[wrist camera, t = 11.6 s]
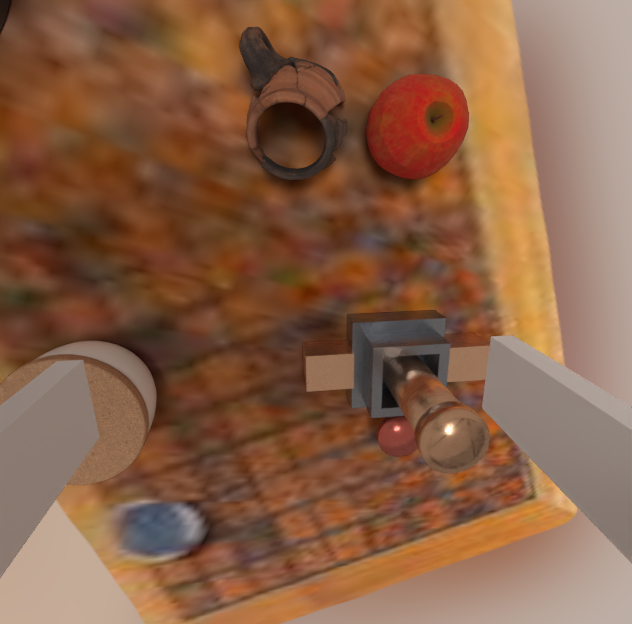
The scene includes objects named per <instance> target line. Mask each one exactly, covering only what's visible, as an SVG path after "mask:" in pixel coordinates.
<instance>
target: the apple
mask: <svg viewBox="0 0 632 624" xmlns="http://www.w3.org/2000/svg"><path fill="white" fill-rule="evenodd" d="M468 124H469V112H468V107H467V101H466V98H465V96H464V93H463V91H462V90H461V89H460V87H459V86H458V85H457V84H455V83H454V82H452V81H451V80H449V79H446V78H443V77H440V76H437V75H430V74H414V75H407V76H405V77H403V78H401V79H399V80H397V81H395V82H394V83H392V84H391V85H390V86H389V87H388V88H386V89H385V90H384V91H383V92H382V93H381V94H380V96H379V98H378V99H377V101H376V102H375V104H374V106H373V107H372V109H371V110H370V112H369V117H368V122H367V128H366V136H367V142H368V147H369V150H370V153H371V155H372V157H373V158H374V159H375V161H376V162H377V164H378V165H379V166H380V167H382V168H383V169H385V170H386V171H387V172H389V173H391V174H394V175H396V176H398V177H401V178H405V179H420V178H425V177H427V176H429V175H431V174H434V173H436V172H437V171H438V170H440V169H441V168H442V167H443V166H445V165H446V164H447V163H448V162H449V161H450V160H451V158H452V157H453V156H454V155H455V153H456V152H457V150H458V149H459V147H460V146H461V144H462V142H463V140H464V137H465V135H466V132H467V130H468Z"/></svg>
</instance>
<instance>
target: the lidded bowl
mask: <svg viewBox="0 0 632 624" xmlns="http://www.w3.org/2000/svg"><path fill="white" fill-rule="evenodd" d="M70 360H83V361H84V366H85V371H86V375H87V380H88V385H89V389H90V394H91V399H92V403H93V408H94V412H95V417H96V422H97V426H98V431H99V436H100V437H99V439H98V440H97V442H96V443H95V444H94V446H93V447H92V449H91V450H90V452H89V453H88V454H87V456H86V457H85V459H84V460H83V462H82V463H81V464H80V466H79V467H78V469H77V470H76V471H75V473H74V474H73V476H72V477H71V479H70V480H69V481H68V483H67V484H66V485H87V484H93V483H97V482H101V481H104V480H107V479H109V478H112V477H114V476H116V475H118V474H119V473H121V472H122V471H124V470H125V469H126V468H127V467H129V466H130V465H131V464H132V463H133V462H134V460H135V459H136V458H137V456H138V455H139V453H140V451H141V449H142V447H143V445H144V443H145V441H146V438H147V434H148V432H149V430H150V428H151V425H152V422H153V418H154V415H155V411H156V401H157V394H156V387H155V383H154V379H153V377H152V375H151V372H150V371H149V369H148V368H147V366H146V365H145V364H144V362H143V361H142V360H141V359H140V358H139V357H137V356H136V355H135V354H134V353H132V352H131V351H129V350H127V349H126V348H123V347H121V346H119V345H116V344H113V343H109V342H103V341H80V342H74V343H71V344H67V345H64V346H60V347H58V348H56V349H53V350H51V351H49V352H47V353H45V354H43V355H41V356H39V357H38V358H36V359H35V360H33V361H31V362H29V363H27V364H25V365H23V366H22V367H20V368H19V369H17V370H16V371H14V372H13V373H11V374H10V375H9V376H8V377H7V378H6V379H5V380H4V381H3V382H2V383H1V384H0V405H2V404H3V403H4V402H5V401H7V400H8V399H9V398H10V397H12V396H13V395H14V394H16V393H17V392H18V391H19V390H21V389H22V388H23V387H24V386H26V385H27V384H28V383H30V382H31V381H32V380H33V379H35V378H36V377H37V376H38V375H40V374H41V373H42V372H44V371H45V370H46V369H47V368H49V367H50V366H51V365H52V364H54V363H55V362H56V361H70Z"/></svg>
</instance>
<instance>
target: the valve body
mask: <svg viewBox="0 0 632 624" xmlns="http://www.w3.org/2000/svg"><path fill="white" fill-rule="evenodd" d="M445 324H446V318H445V317H444V316H442V315H441V314H440V313H438V312H437V311H435V310H423V311H402V312H382V313H361V314H347V340H329V341H311V342H303V362H304V378H305V384H306V390H307V392H308V391H323V390H338V389H347V397H348V400H349V402H350V405H351V408H362V407H367V410H368V412H369V414H370V416H371V418H380V417H387V418H386V419H384V420H383V421H382V422H381V424H380V425H379V427H378V430H377V440H378V443H379V445H380V447H381V449H382V450H383V451H384V452H385V453H386V454H388V455H391V456H395V457H401V456H406V455H408V454H410V453H412V452H414V451H415V450H416V449H417V448H418V447H417V446H416V443H415V439H414V431H413V429H412V427H411V426H410V424H409V422H408V421H407V419H406V417H405V416H404V414H403V412H402V411H401V409H400V407H399V406H398V404H397V402H396V400H395V399H394V397H393V395H392V394H391V392H390V390H389V389H388V387H387V385H386V384H385V382H384V380H383V379H382V378H383V357H393V356H410V355H417V356H418V357H419V358H420V359H421V360H422V361H423V362H424V364H425V365H426V366H427V367H428V368H429V369H430V370H431V371H432V373H433V374H434V375H435V376H436V377H437V378H438V379H439V380H440V381H441V383H442V384H443V385H444V386H445V387H447V382H456V381H471V380H485V379H486V373H487V365H488V357H489V349H490V343H488V342H487V341H486V340H484V339H483V338H481V337H480V336H478V335H477V334H476V333H456V334H445Z"/></svg>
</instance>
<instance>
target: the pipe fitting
mask: <svg viewBox="0 0 632 624" xmlns="http://www.w3.org/2000/svg"><path fill="white" fill-rule="evenodd" d="M382 379H383V380H384V382H385V384H386V385H387V387H388V389H389V390H390V392H391V394H392V395H393V397H394V399H395V400H396V402H397V404H398V406H399V407H400V409H401V411H402V412H403V414H404V416H405V417H406V419H407V421H408V422H409V424H410V426H411V427H412V429H413V431H414V439H415V443H416V446H417V447H418V449H419V451H420V453H421V454H422V456H423V458H424V460H425V461H426V463H427V464H428V465H429V466H430V467H431V468H433V469H434V470H436V471H439V472H442V473H458V472H461V471H464V470H467V469H469V468H470V467H472V466H474V465H475V464H476V463H477V462H478V461H479V460H481V458H482V457H483V456H484V454H485V453H486V451H487V449H488V446H489V442H490V433H489V429H488V427H487V425H486V424H485V422H484V421H483V420H482V419H481V418H480V417H479V416H478V415H477V414H476V412H475V411H474V410H473V409H472V408H471V407H469V406H468V405H466V404H464V403H461V402H459V401H458V400H457V399H456V398H455V397H454V396H453V395H452V394H451V393H450V391H449V390H448V389H447V388H446V387H445V386H444V385H443V384H442V383H441V381H440V380H439V379H438V378H437V377H436V376H435V375H434V374H433V373H432V371H431V370H430V369H429V368H428V367H427V366H426V365H425V364H424V362H423V361H422V360H421V359H420V358H419V357H418V356H417V355H410V356H393V357H383V378H382Z"/></svg>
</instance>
